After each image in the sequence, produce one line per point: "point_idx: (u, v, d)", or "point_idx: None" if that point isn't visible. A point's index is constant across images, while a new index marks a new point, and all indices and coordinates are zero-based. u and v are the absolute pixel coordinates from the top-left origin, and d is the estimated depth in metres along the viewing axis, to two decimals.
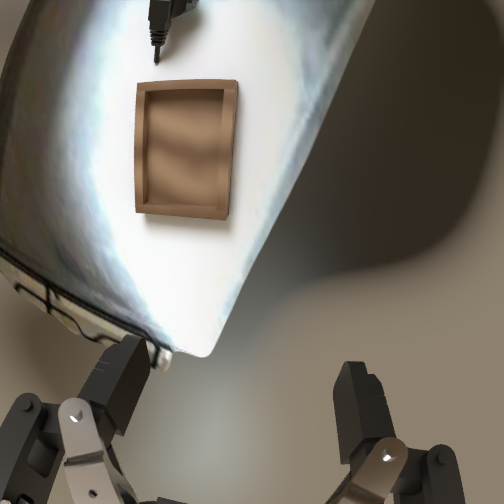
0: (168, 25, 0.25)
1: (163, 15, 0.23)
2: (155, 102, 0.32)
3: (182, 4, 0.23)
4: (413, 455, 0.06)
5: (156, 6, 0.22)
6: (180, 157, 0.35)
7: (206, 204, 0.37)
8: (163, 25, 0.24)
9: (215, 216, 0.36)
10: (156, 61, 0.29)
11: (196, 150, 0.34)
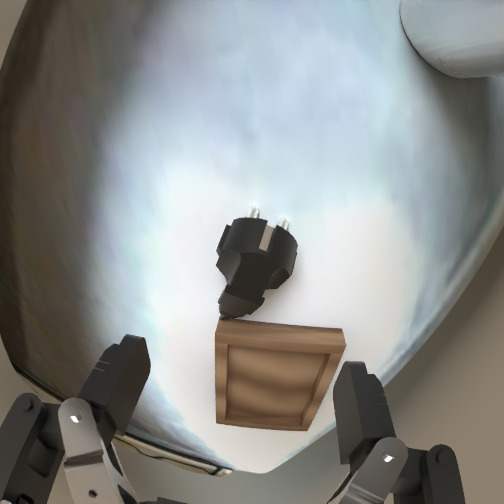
0: None
1: (246, 310, 0.21)
2: None
3: (273, 283, 0.21)
4: (413, 455, 0.06)
5: (235, 300, 0.20)
6: (266, 389, 0.32)
7: (288, 416, 0.34)
8: (243, 314, 0.22)
9: (298, 429, 0.33)
10: (224, 319, 0.28)
11: (285, 385, 0.31)
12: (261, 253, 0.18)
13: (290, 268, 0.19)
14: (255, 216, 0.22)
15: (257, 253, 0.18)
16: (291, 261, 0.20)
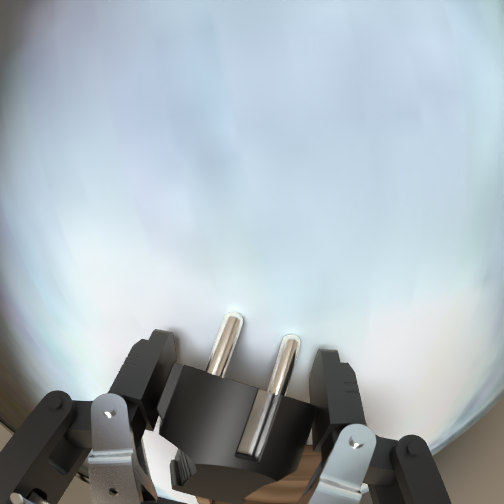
0: None
1: None
2: None
3: None
4: (383, 444, 0.07)
5: None
6: (260, 489, 0.20)
7: (287, 503, 0.22)
8: None
9: None
10: None
11: (284, 488, 0.19)
12: (240, 467, 0.06)
13: (299, 460, 0.08)
14: (235, 337, 0.10)
15: (231, 467, 0.06)
16: (303, 448, 0.08)
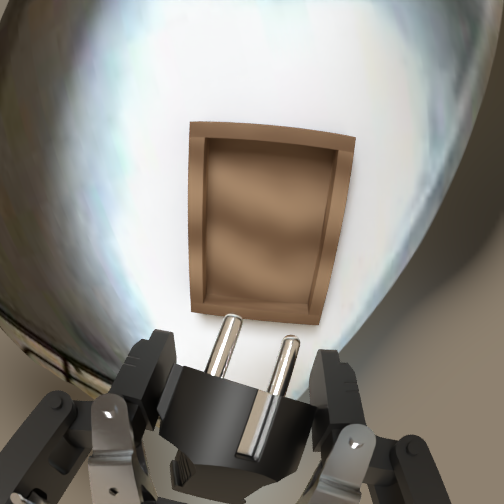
0: None
1: None
2: (218, 154, 0.22)
3: None
4: (383, 444, 0.07)
5: None
6: (258, 241, 0.25)
7: (291, 301, 0.28)
8: None
9: (306, 321, 0.27)
10: None
11: (283, 233, 0.25)
12: (240, 467, 0.06)
13: (299, 460, 0.08)
14: (235, 338, 0.10)
15: (230, 468, 0.06)
16: (302, 449, 0.08)
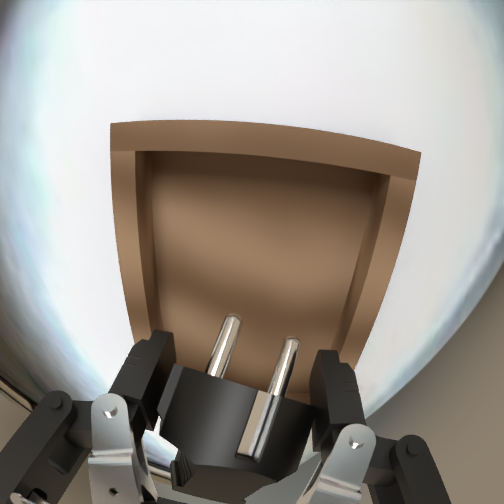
0: None
1: None
2: (168, 178, 0.12)
3: None
4: (383, 444, 0.07)
5: None
6: None
7: (290, 391, 0.18)
8: None
9: None
10: None
11: (282, 308, 0.15)
12: (240, 467, 0.06)
13: (299, 461, 0.08)
14: (235, 338, 0.10)
15: (230, 468, 0.06)
16: (302, 449, 0.08)
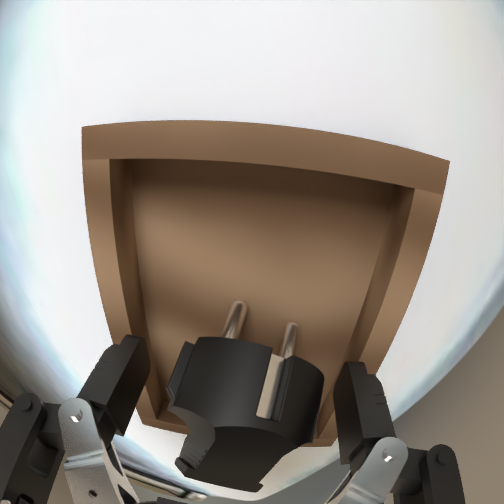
0: None
1: None
2: (150, 189, 0.10)
3: None
4: (413, 455, 0.06)
5: None
6: None
7: None
8: None
9: (313, 444, 0.15)
10: None
11: None
12: (262, 427, 0.07)
13: (314, 432, 0.08)
14: (241, 320, 0.11)
15: (252, 428, 0.07)
16: (316, 418, 0.08)
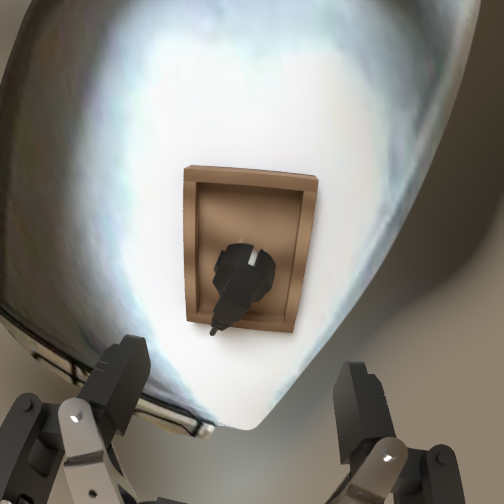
0: None
1: (235, 316, 0.26)
2: (207, 193, 0.28)
3: (257, 296, 0.27)
4: (413, 455, 0.06)
5: (228, 306, 0.25)
6: None
7: (269, 313, 0.33)
8: (232, 322, 0.27)
9: (282, 329, 0.32)
10: (213, 335, 0.32)
11: None
12: (250, 267, 0.24)
13: (270, 281, 0.26)
14: None
15: (246, 267, 0.24)
16: (271, 276, 0.26)
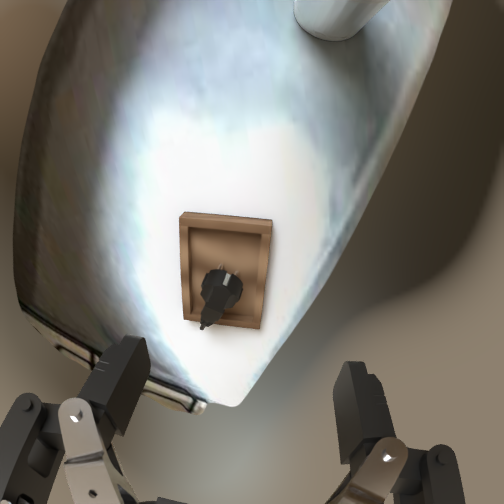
0: None
1: (215, 317, 0.39)
2: (196, 232, 0.40)
3: (230, 304, 0.40)
4: (413, 455, 0.06)
5: (210, 311, 0.38)
6: None
7: (243, 314, 0.46)
8: (214, 321, 0.40)
9: (251, 326, 0.45)
10: (202, 329, 0.45)
11: None
12: (223, 286, 0.37)
13: (238, 295, 0.38)
14: (221, 268, 0.41)
15: (221, 286, 0.37)
16: (239, 292, 0.38)
